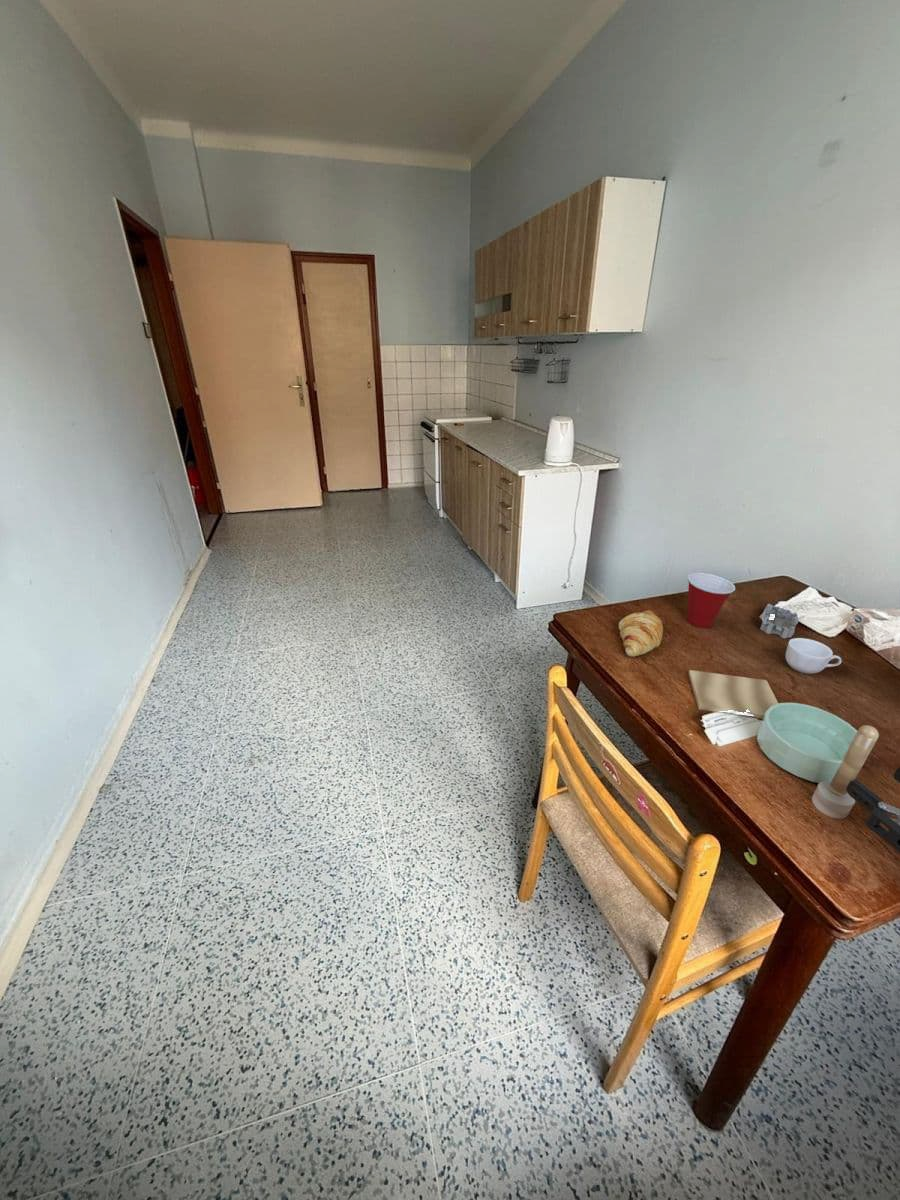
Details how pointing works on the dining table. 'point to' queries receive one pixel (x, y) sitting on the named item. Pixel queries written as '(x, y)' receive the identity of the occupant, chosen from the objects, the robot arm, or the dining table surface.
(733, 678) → the flat beige board
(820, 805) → the dish brush
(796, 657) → the teacup
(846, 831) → the dining table surface
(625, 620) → the croissant
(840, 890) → the dining table surface
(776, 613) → the egg carton
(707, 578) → the plastic cup
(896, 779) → the robot arm
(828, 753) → the bowl
